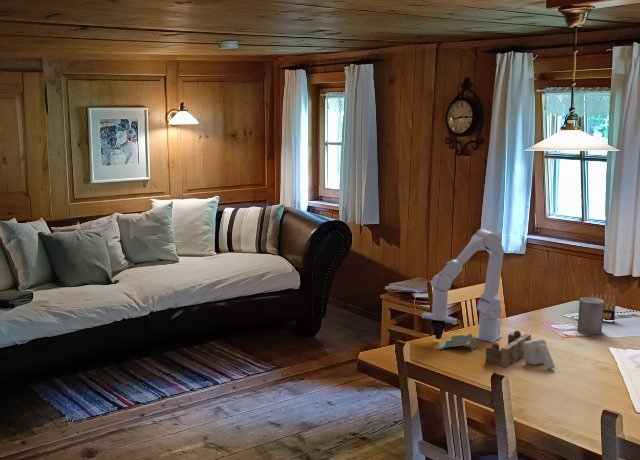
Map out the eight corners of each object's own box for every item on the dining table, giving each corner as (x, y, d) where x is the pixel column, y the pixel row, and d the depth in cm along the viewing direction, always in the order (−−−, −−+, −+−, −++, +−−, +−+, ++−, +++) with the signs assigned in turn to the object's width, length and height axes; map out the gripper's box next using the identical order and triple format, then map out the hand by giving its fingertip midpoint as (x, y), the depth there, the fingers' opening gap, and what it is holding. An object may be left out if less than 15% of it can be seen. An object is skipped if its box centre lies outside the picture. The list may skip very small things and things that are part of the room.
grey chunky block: (545, 371, 265) (542, 343, 266) (525, 369, 274) (522, 341, 275) (562, 368, 269) (559, 340, 269) (541, 366, 278) (539, 339, 279)
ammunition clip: (588, 320, 333) (590, 293, 331) (588, 318, 335) (590, 292, 333) (614, 322, 330) (616, 295, 328) (614, 321, 332) (616, 294, 330)
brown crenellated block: (510, 348, 292) (511, 328, 291) (530, 352, 288) (531, 332, 286) (485, 363, 275) (486, 342, 273) (506, 368, 270) (507, 346, 269)
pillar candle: (581, 326, 323) (583, 292, 320) (604, 330, 317) (607, 296, 315) (574, 332, 315) (576, 297, 313) (598, 336, 310) (600, 301, 307)
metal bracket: (478, 330, 296) (467, 340, 283) (482, 344, 296) (470, 355, 283) (444, 334, 303) (431, 345, 290) (447, 349, 303) (435, 359, 290)
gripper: (418, 304, 297) (417, 337, 299) (451, 310, 288) (450, 344, 291) (427, 300, 303) (426, 333, 305) (460, 306, 294) (458, 340, 296)
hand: (438, 338), depth 298 cm, fingers closed
